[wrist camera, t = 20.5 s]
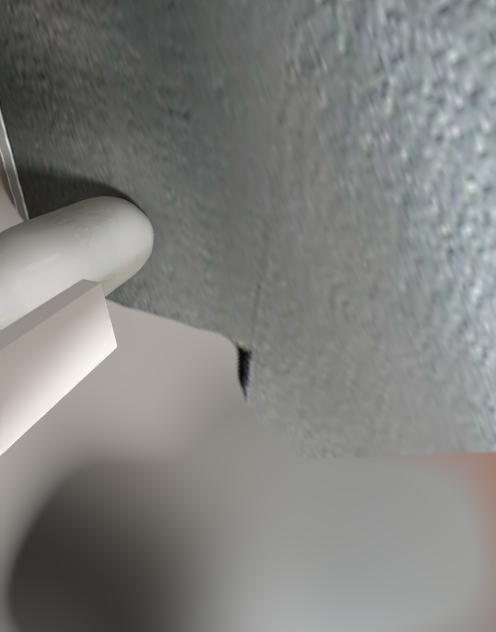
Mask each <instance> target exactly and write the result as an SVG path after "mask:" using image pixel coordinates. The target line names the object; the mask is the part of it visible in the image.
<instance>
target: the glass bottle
mask: <svg viewBox="0 0 496 632" xmlns="http://www.w3.org/2000/svg"><path fill="white" fill-rule="evenodd" d="M153 243H154V232H153V228H152V225H151V223H150V221H149V219H148V218H147V216H146V215H145V214H144V213H143V212H142V211H141V210H140V209H139V208H138V207H136V206H135V205H134V204H132V203H131V202H129V201H127V200H124V199H121V198H117V197H111V196H99V197H93V198H89V199H85V200H82V201H80V202H77V203H74V204H72V205H69V206H66V207H64V208H61V209H58V210H55V211H53V212H50V213H47V214H44V215H41V216H38V217H35V218H33V219H30V220H28V221H25V222H22V223H20V224H18V225H15V226H13V227H11V228H8V229H6V230H5V231H3V232H1V233H0V330H2V329H4V328H5V327H7V326H8V325H10V324H12V323H13V322H15V321H16V320H18V319H20V318H21V317H23V316H24V315H26V314H28V313H29V312H31V311H32V310H34V309H35V308H37V307H39V306H40V305H42V304H43V303H45V302H47V301H48V300H50V299H51V298H53V297H55V296H56V295H58V294H59V293H61V292H63V291H64V290H66V289H67V288H69V287H71V286H72V285H74V284H75V283H77V282H79V281H80V280H82V279H86V280H91V281H96V282H101V284H102V288H103V292H104V296H105V297H106V296H107V295H108V294H109V293H111V292H112V291H113V290H114V289H116V288H117V287H118V286H120V285H121V284H122V283H124V282H125V281H127V280H128V279H129V278H131V277H132V276H133V275H134V274H136V273H137V272H138V271H139V270H140V269H141V268H142V266H143V265H144V264H145V262H146V261H147V260H148V258H149V256H150V254H151V253H152V249H153Z"/></svg>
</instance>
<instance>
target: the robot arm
mask: <svg viewBox="0 0 496 632" xmlns="http://www.w3.org/2000/svg"><path fill="white" fill-rule="evenodd" d="M116 347H117V344H116V340H115V336H114V332H113V328H112V325H111V321H110V316H109V312H108V309H107V304H106V300H105V296H104V292H103V288H102V284H101V282H96V281H91V280H86V279H82V280H80V281H79V282H77V283H75V284H74V285H72V286H71V287H69V288H67V289H66V290H64V291H63V292H61V293H59V294H58V295H56V296H55V297H53V298H51V299H50V300H48V301H47V302H45V303H43V304H42V305H40V306H39V307H37V308H35V309H34V310H32V311H31V312H29V313H28V314H26V315H24V316H23V317H21V318H20V319H18V320H16V321H15V322H13V323H12V324H10V325H8V326H7V327H5V328H4V329H2V330H0V455H1V454H2V453H3V452H5V451H6V450H7V449H8V448H9V447H10V446H11V445H12V444H13V443H14V442H15V441H16V440H18V438H20V437H21V436H22V435H23V434H24V433H25V432H26V431H27V430H28V429H29V428H30V427H31V426H33V425H34V423H36V422H37V421H38V420H39V419H40V418H41V417H42V416H43V415H44V414H45V413H47V412H48V411H49V410H50V409H51V408H52V407H53V406H54V405H55V404H56V403H57V402H58V401H59V400H60V399H62V398H63V397H64V396H65V395H66V394H67V393H68V392H69V391H70V390H71V389H72V388H73V387H74V386H76V385H77V384H78V383H79V382H80V381H81V380H82V379H83V378H84V377H85V376H86V375H87V374H88V373H89V372H91V371H92V370H93V369H94V368H95V367H96V366H97V365H98V364H99V363H100V362H101V361H102V360H103V359H105V358H106V357H107V356H108V355H109V354H110V353H111V352H112V351H113V350H114V349H115V348H116Z"/></svg>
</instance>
